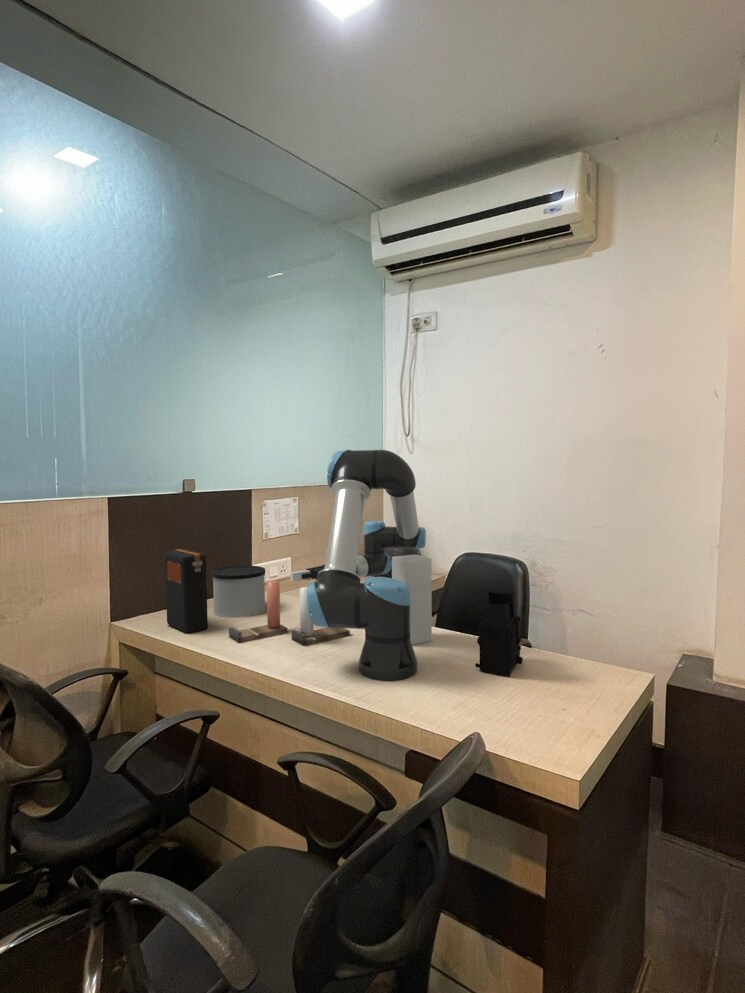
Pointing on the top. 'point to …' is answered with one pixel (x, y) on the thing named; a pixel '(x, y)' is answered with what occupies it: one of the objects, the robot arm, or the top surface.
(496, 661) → the camera
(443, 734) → the top surface
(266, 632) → the brown base
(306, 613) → the grey plug
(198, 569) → the voltmeter
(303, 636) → the brown wooden board
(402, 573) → the tall white carton
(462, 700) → the top surface
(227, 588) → the container
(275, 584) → the terracotta plug
